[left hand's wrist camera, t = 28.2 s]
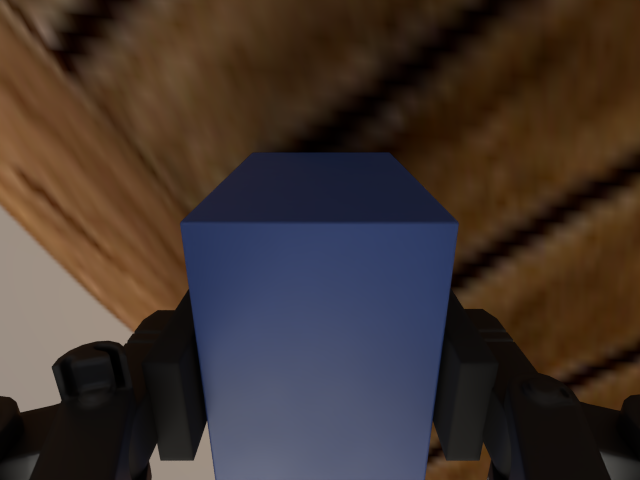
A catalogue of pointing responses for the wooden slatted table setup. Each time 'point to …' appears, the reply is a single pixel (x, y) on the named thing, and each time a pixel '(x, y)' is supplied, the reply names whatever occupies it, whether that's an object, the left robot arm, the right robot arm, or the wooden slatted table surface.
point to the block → (319, 316)
